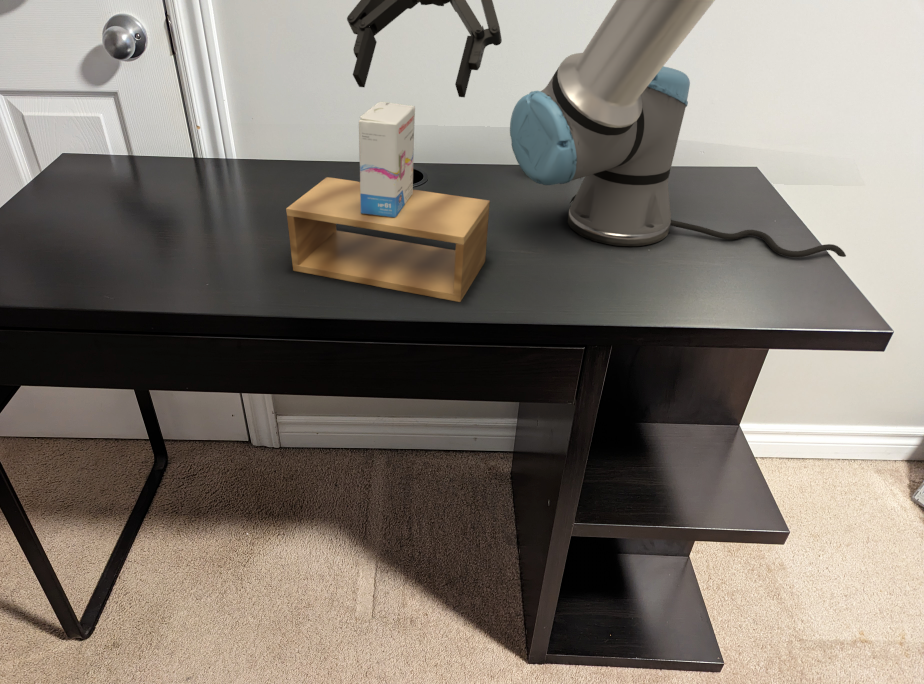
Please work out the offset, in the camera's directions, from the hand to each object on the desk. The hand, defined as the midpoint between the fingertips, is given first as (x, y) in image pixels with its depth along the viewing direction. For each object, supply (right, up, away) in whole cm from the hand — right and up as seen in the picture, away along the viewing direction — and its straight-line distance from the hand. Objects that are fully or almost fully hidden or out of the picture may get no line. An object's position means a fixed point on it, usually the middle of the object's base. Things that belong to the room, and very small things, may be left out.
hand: (408, 86), depth 86 cm
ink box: (-3, -14, +3) cm, 15 cm away
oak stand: (-3, -21, +9) cm, 23 cm away
